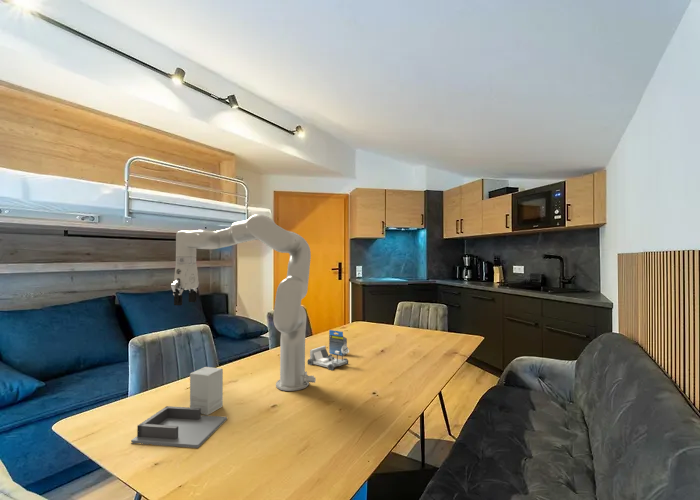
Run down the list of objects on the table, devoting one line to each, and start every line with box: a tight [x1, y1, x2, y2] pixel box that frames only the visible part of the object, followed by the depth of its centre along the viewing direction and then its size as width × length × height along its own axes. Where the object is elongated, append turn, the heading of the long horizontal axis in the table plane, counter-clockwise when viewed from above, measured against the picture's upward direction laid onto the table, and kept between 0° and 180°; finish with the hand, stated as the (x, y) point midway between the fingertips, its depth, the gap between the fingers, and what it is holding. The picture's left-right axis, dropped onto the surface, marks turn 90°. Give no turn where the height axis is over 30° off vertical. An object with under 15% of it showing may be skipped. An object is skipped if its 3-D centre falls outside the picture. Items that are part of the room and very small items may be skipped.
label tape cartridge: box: [328, 329, 348, 357], centre depth 178 cm, size 9×4×12 cm, turn 58°
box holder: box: [130, 405, 228, 449], centre depth 99 cm, size 19×16×4 cm
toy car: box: [306, 345, 350, 372], centre depth 160 cm, size 18×10×12 cm
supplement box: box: [189, 366, 224, 416], centre depth 113 cm, size 7×7×13 cm
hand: (185, 303), depth 140 cm, fingers open, 9 cm apart
